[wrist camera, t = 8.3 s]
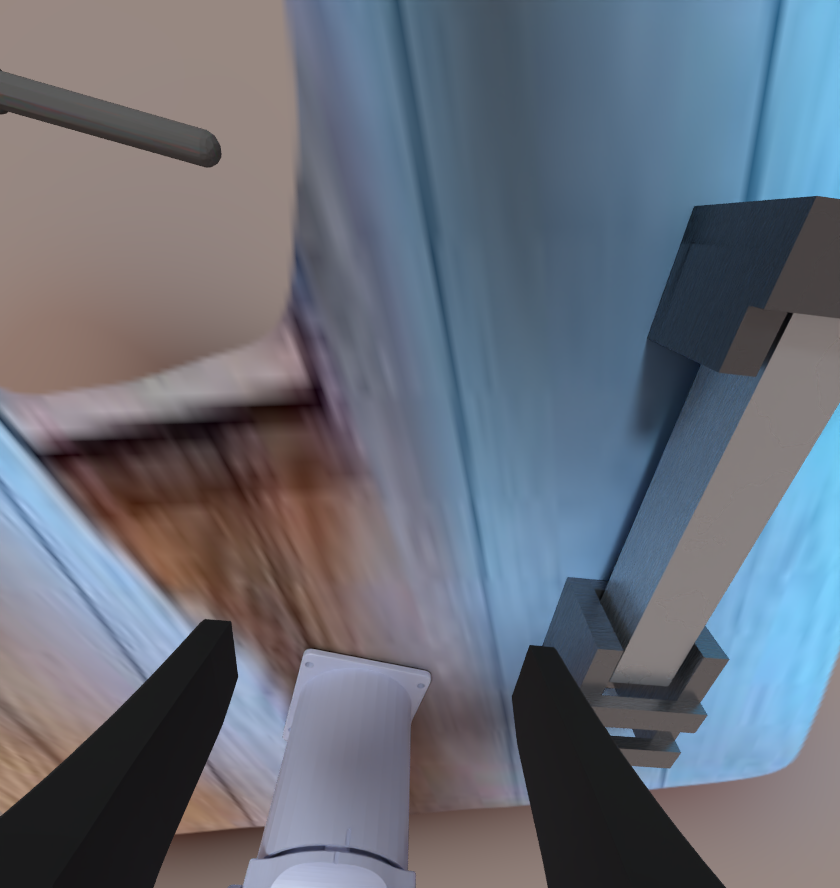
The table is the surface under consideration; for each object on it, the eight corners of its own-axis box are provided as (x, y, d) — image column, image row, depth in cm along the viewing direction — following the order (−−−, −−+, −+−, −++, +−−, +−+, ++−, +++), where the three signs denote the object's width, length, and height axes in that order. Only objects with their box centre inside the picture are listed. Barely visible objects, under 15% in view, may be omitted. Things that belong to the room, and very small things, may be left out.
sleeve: (628, 679, 27) (669, 768, 22) (533, 671, 27) (556, 760, 22) (677, 587, 23) (738, 671, 19) (567, 577, 23) (603, 661, 19)
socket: (806, 357, 17) (945, 403, 13) (647, 338, 17) (731, 379, 12) (874, 230, 15) (1071, 231, 11) (694, 206, 15) (816, 195, 10)
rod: (640, 634, 24) (668, 686, 21) (587, 630, 23) (609, 682, 21) (818, 285, 15) (903, 296, 13) (739, 275, 15) (807, 284, 12)
